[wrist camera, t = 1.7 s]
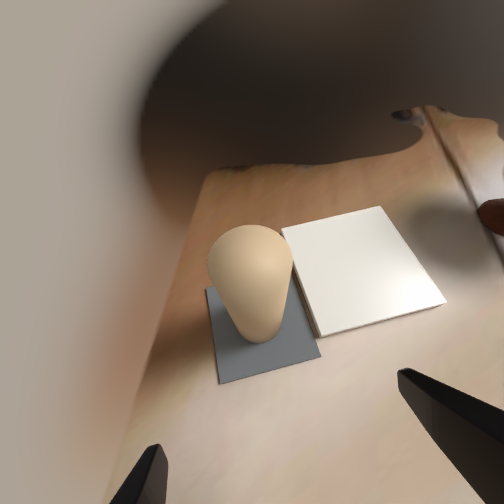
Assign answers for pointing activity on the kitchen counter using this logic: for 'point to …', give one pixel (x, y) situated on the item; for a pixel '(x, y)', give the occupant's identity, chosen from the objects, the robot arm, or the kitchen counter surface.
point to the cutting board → (358, 271)
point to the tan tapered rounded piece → (252, 279)
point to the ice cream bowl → (493, 215)
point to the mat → (260, 354)
